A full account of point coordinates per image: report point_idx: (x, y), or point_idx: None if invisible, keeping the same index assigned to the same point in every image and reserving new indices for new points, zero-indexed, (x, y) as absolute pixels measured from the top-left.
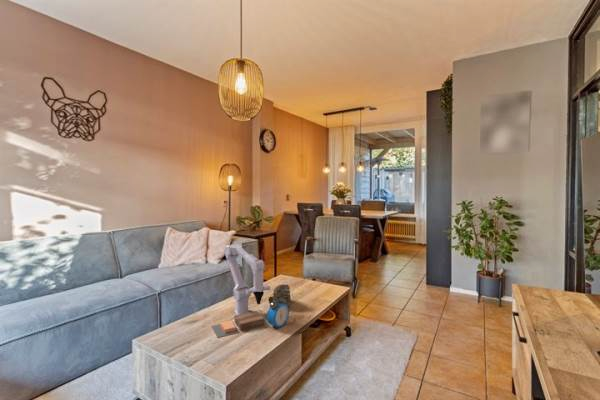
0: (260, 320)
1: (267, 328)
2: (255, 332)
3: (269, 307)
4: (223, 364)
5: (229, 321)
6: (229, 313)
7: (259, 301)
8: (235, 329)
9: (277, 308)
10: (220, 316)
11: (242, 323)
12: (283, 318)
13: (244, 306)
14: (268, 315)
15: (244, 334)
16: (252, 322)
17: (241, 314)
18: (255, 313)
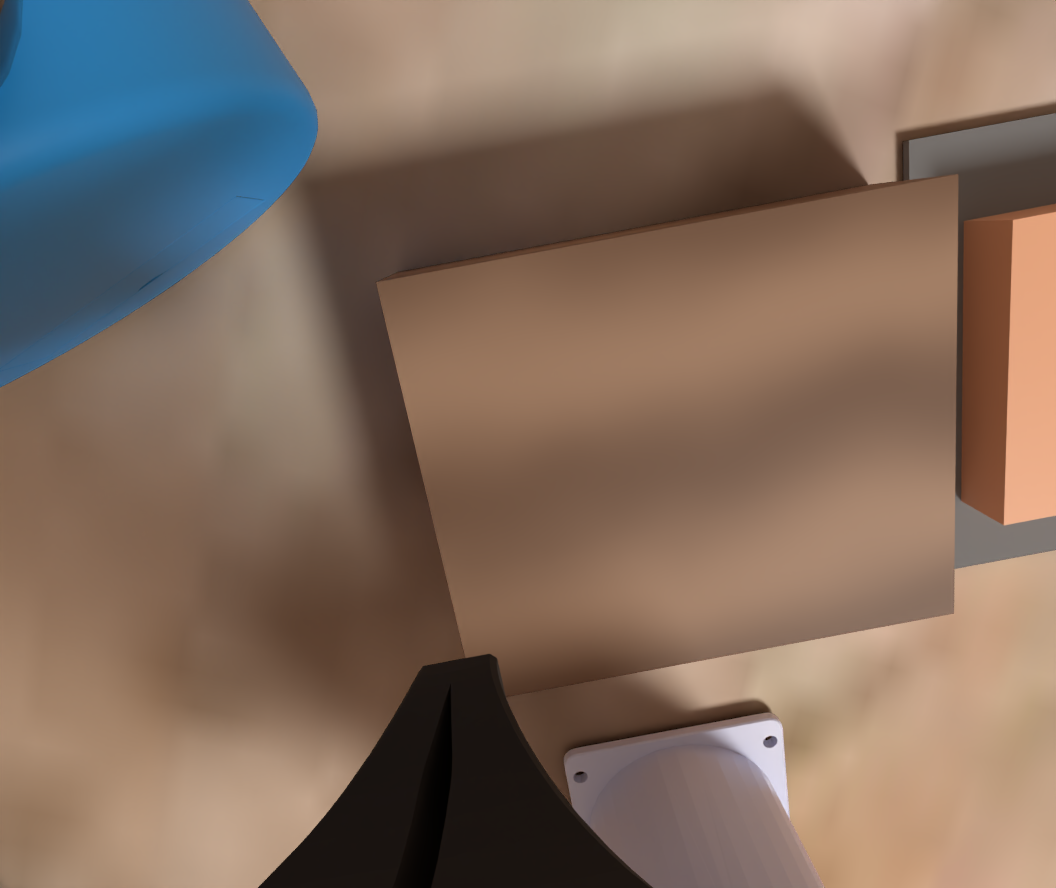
0: (478, 262)
1: (356, 127)
2: (623, 35)
3: (82, 124)
4: None
5: (1037, 495)
6: (868, 847)
7: (438, 711)
8: (981, 219)
9: None
10: (1018, 789)
11: (918, 198)
12: None
13: (716, 871)
14: (246, 21)
15: (843, 27)
16: (673, 225)
17: (813, 627)
18: (529, 596)
